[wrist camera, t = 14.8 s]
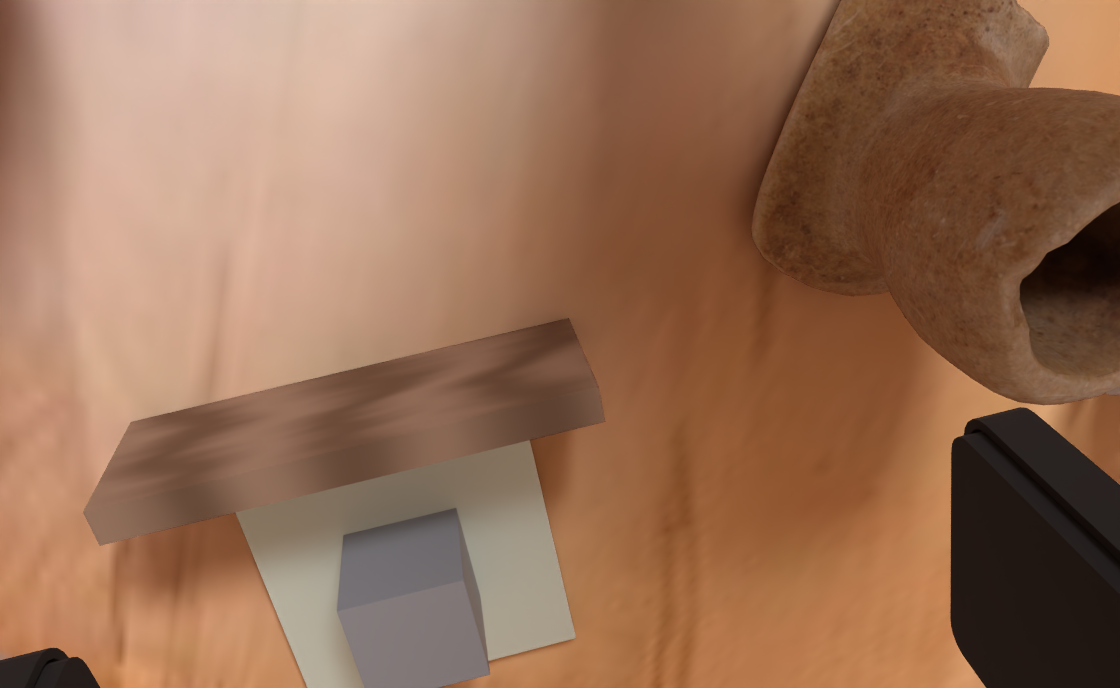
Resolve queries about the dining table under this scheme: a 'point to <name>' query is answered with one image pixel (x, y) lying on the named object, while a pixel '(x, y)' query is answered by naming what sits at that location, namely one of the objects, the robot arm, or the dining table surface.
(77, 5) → the dining table surface
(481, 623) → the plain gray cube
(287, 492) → the walnut screen
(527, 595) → the display mat
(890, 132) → the stone cup
